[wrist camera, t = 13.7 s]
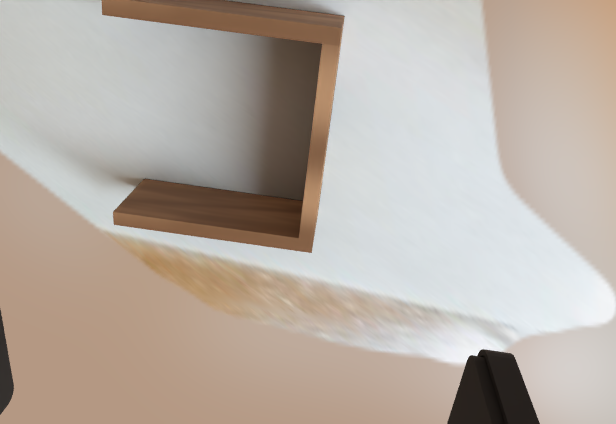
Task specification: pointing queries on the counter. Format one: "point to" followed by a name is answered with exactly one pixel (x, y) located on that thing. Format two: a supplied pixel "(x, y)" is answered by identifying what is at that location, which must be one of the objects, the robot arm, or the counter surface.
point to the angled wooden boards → (229, 204)
